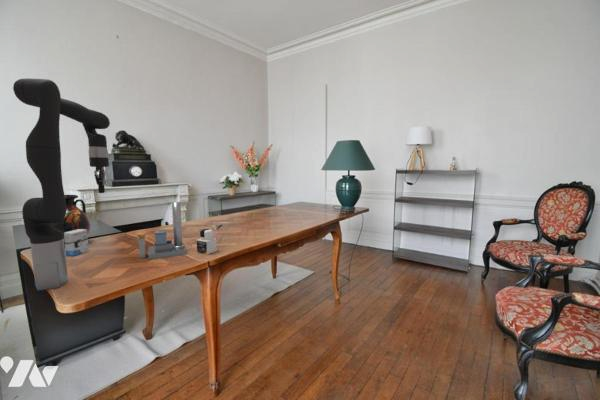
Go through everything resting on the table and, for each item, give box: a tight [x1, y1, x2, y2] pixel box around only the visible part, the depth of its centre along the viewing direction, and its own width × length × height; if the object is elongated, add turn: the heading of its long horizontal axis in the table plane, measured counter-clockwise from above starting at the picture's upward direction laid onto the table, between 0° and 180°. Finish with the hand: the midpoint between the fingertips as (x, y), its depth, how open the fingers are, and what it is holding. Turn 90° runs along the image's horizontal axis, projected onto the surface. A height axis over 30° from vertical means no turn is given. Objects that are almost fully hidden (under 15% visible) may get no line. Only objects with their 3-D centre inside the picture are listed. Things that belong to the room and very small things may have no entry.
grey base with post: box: [138, 201, 187, 260], centre depth 141 cm, size 14×21×26 cm
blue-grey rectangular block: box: [154, 229, 168, 245], centre depth 141 cm, size 5×5×9 cm
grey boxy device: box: [196, 228, 218, 256], centre depth 144 cm, size 7×7×12 cm
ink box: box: [64, 229, 90, 257], centre depth 141 cm, size 8×5×12 cm, turn 168°
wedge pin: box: [137, 232, 147, 255], centre depth 137 cm, size 4×4×11 cm
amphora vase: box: [51, 194, 91, 246], centre depth 154 cm, size 22×22×28 cm
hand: (101, 192), depth 134 cm, fingers closed
